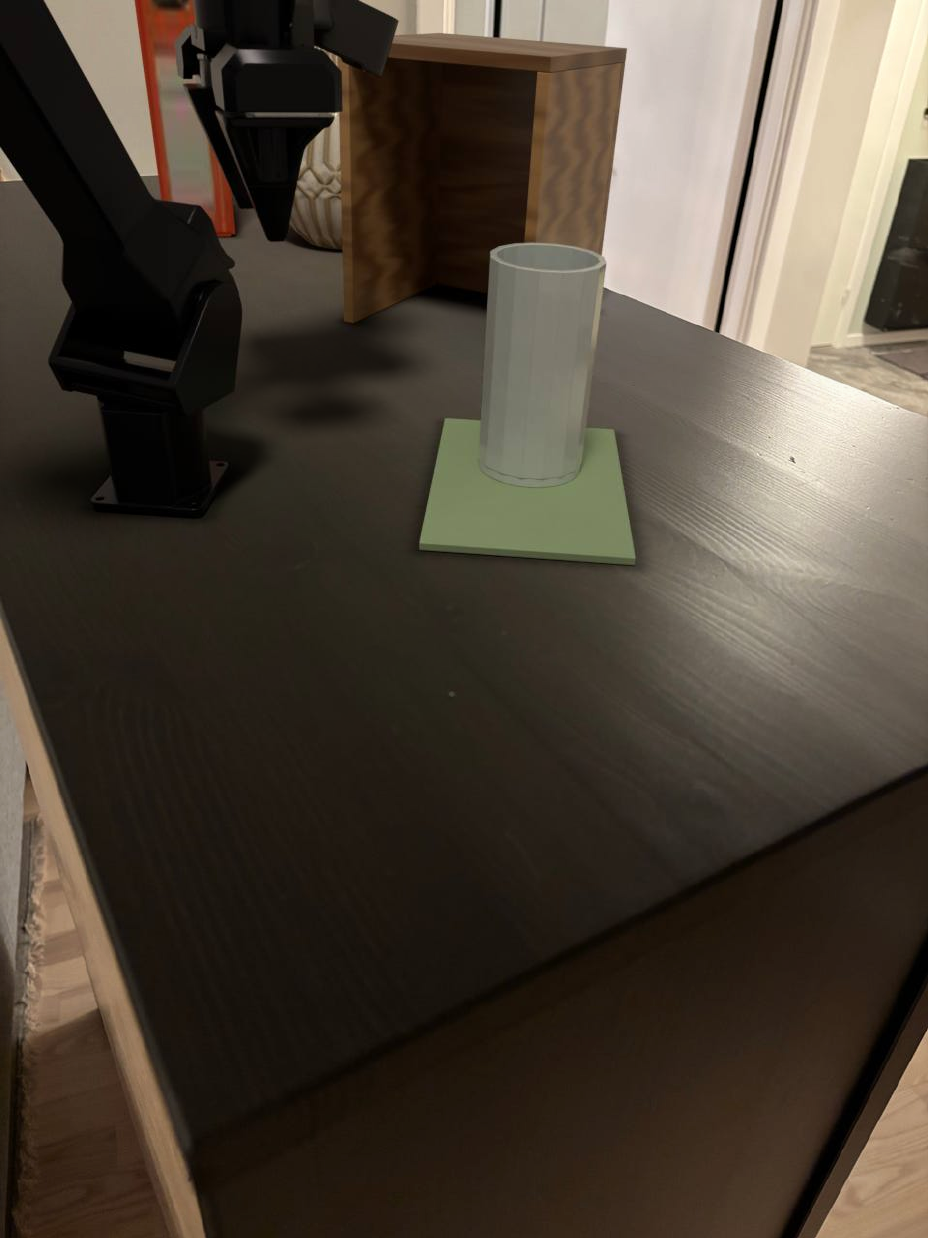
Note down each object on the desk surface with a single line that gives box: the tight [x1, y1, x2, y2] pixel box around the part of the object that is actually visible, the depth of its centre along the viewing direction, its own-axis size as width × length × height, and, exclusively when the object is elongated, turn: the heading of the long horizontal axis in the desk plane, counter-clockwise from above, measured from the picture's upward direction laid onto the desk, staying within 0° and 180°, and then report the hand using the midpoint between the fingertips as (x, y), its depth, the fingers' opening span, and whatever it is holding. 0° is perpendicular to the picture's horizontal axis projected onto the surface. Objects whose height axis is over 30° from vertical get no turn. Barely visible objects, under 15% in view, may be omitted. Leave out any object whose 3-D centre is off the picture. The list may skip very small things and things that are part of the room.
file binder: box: [134, 0, 236, 238], centre depth 108 cm, size 8×17×32 cm, turn 14°
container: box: [478, 243, 607, 488], centre depth 58 cm, size 7×7×13 cm
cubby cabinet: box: [338, 32, 628, 324], centre depth 83 cm, size 17×18×22 cm
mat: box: [418, 417, 637, 566], centre depth 60 cm, size 18×12×1 cm, turn 176°
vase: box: [289, 46, 343, 251], centre depth 106 cm, size 16×16×20 cm
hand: (261, 223), depth 60 cm, fingers open, 9 cm apart
